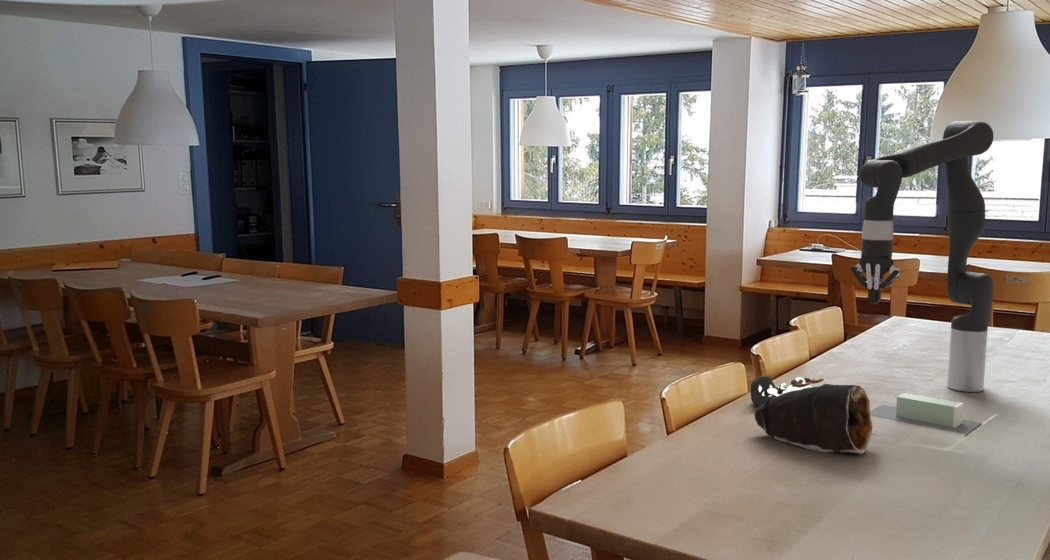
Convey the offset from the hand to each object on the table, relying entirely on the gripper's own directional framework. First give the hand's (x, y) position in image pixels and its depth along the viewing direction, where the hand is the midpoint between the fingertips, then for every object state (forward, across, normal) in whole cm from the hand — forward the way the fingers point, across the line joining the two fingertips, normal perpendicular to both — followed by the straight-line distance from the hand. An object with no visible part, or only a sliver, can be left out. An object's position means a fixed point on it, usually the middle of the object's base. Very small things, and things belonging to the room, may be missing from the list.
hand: (873, 303), depth 227 cm
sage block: (+24, -11, +7) cm, 27 cm away
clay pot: (+27, -3, +43) cm, 51 cm away
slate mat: (+27, -16, +7) cm, 32 cm away
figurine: (+27, +14, +20) cm, 37 cm away
